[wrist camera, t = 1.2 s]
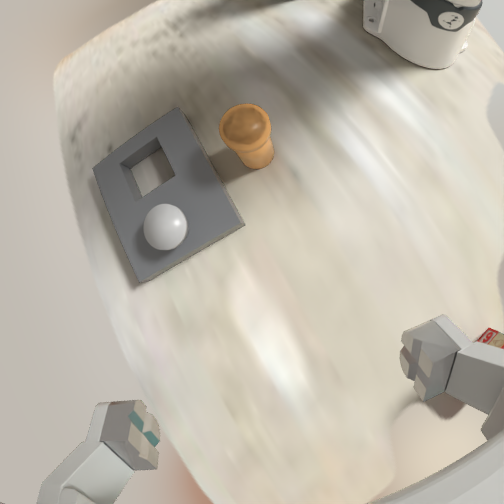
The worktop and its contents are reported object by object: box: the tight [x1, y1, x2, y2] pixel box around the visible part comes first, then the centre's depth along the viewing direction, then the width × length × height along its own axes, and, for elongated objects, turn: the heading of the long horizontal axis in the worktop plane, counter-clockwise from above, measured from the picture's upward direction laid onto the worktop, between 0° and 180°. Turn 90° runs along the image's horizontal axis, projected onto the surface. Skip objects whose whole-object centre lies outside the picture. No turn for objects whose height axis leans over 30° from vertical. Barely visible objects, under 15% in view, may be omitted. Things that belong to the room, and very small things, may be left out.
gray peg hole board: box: [92, 107, 245, 282], centre depth 37 cm, size 18×15×6 cm
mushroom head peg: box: [219, 104, 274, 169], centre depth 34 cm, size 5×5×9 cm
